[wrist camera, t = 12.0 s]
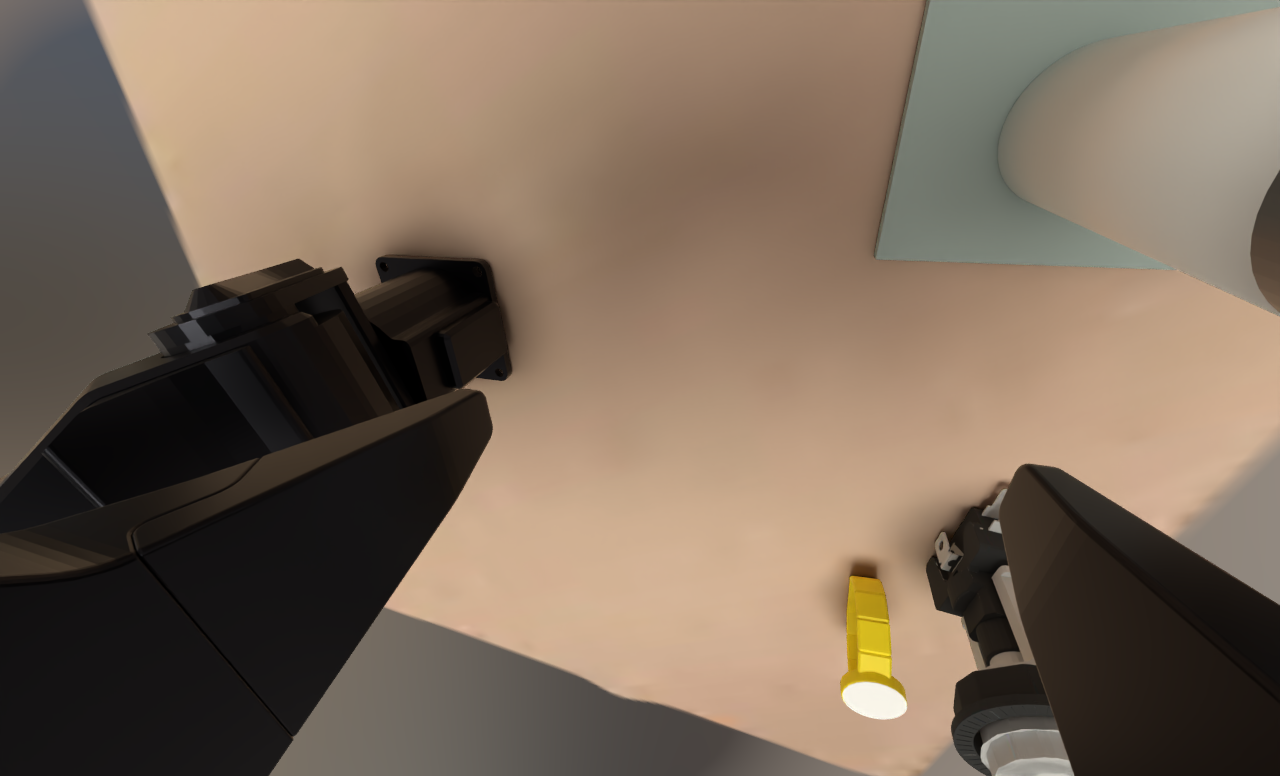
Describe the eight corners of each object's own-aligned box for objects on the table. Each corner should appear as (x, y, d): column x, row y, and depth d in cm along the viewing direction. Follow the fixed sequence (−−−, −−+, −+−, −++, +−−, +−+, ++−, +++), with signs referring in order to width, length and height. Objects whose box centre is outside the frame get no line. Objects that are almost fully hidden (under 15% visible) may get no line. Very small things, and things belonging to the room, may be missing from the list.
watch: (837, 552, 26) (844, 649, 21) (893, 559, 25) (915, 662, 20) (832, 627, 28) (838, 731, 23) (883, 636, 28) (901, 746, 22)
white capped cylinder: (965, 180, 15) (1275, 335, 5) (1071, 13, 13) (1996, -258, 3) (1101, 227, 15) (1692, 480, 5) (1237, 64, 12) (2893, -48, 3)
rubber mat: (873, 255, 18) (875, 259, 17) (931, -22, 14) (935, -26, 13) (1215, 266, 15) (1228, 271, 15) (1411, -73, 11) (1439, -82, 11)
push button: (944, 467, 21) (1031, 696, 13) (1081, 498, 20) (1268, 769, 12) (892, 563, 25) (934, 789, 17) (1005, 593, 24) (1111, 853, 15)
